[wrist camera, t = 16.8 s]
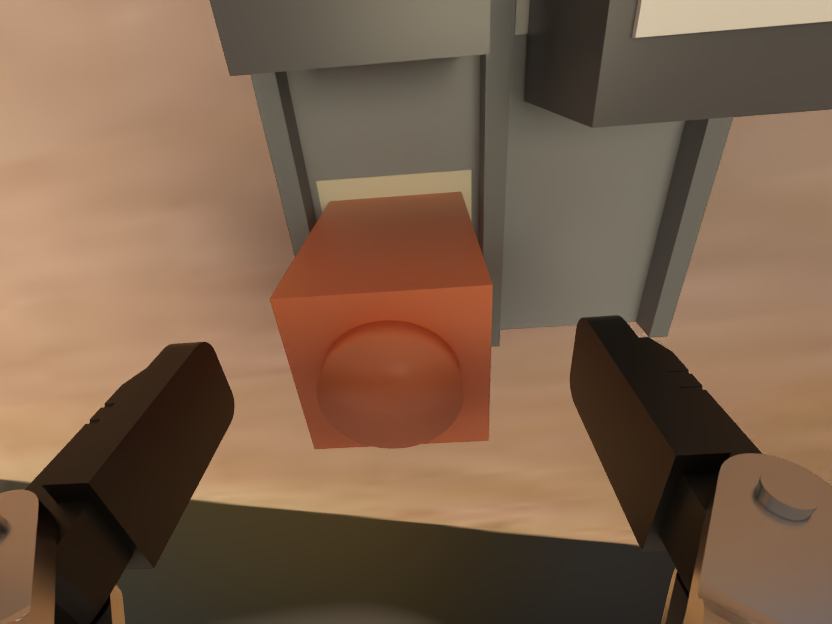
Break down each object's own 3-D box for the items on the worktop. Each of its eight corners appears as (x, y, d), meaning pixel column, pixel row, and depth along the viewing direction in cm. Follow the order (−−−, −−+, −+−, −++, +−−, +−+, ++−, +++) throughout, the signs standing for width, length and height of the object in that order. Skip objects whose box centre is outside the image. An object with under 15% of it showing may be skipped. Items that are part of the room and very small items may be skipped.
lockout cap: (462, 305, 14) (492, 462, 9) (350, 312, 15) (308, 471, 9) (461, 191, 12) (498, 301, 7) (329, 200, 13) (259, 317, 7)
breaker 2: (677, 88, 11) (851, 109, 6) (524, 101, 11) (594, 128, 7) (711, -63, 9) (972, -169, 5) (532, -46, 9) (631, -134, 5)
